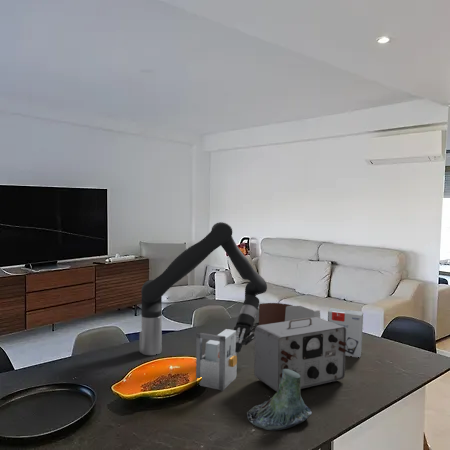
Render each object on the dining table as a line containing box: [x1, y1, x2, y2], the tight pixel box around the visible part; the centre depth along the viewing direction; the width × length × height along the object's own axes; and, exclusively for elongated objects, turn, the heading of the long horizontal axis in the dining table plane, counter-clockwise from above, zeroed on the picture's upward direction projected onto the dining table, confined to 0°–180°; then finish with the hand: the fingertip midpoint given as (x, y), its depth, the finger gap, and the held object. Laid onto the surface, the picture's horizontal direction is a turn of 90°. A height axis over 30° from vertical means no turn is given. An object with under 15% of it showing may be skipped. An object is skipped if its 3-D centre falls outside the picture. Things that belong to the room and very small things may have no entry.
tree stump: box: [246, 369, 312, 431], centre depth 140 cm, size 18×20×18 cm
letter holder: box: [258, 302, 294, 325], centre depth 244 cm, size 10×20×14 cm, turn 80°
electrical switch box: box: [285, 305, 321, 321], centre depth 215 cm, size 15×15×20 cm
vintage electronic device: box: [253, 317, 346, 393], centre depth 167 cm, size 32×18×25 cm, turn 117°
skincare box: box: [204, 328, 236, 362], centre depth 174 cm, size 21×5×16 cm, turn 157°
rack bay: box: [195, 331, 238, 391], centre depth 167 cm, size 12×13×20 cm
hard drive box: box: [327, 307, 364, 359], centre depth 200 cm, size 16×8×20 cm, turn 68°
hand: (236, 352), depth 184 cm, fingers closed
